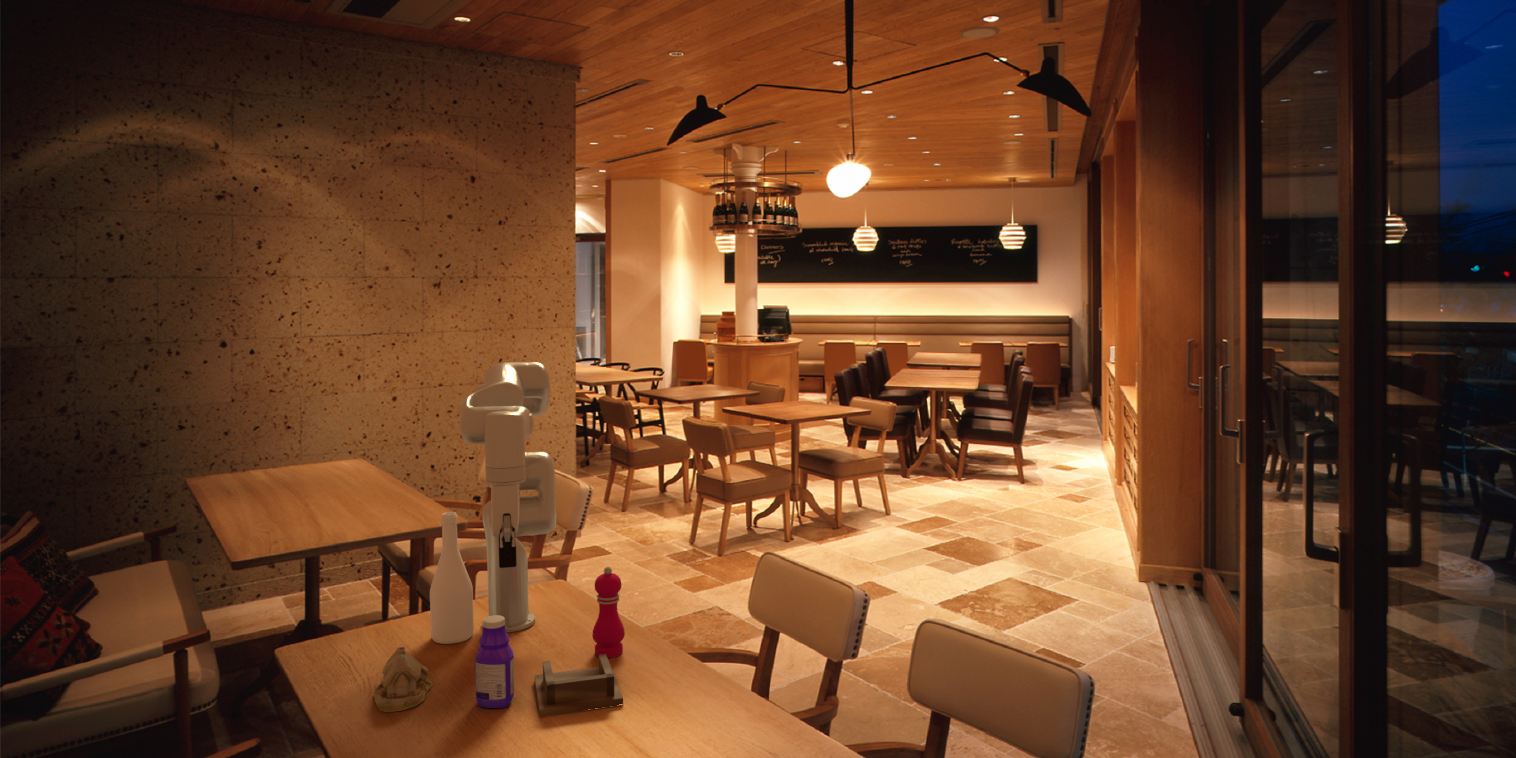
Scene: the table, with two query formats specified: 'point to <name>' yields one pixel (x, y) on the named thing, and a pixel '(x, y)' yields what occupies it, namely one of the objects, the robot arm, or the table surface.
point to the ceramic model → (402, 683)
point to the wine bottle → (451, 590)
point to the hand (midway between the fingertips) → (507, 559)
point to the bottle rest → (577, 689)
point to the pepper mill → (608, 616)
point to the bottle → (494, 665)
